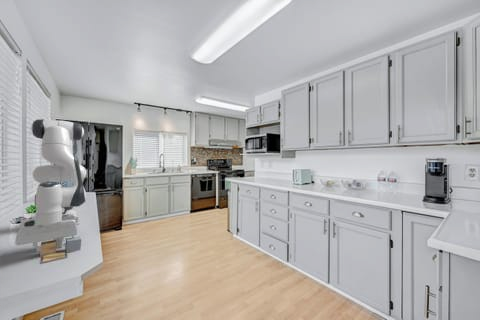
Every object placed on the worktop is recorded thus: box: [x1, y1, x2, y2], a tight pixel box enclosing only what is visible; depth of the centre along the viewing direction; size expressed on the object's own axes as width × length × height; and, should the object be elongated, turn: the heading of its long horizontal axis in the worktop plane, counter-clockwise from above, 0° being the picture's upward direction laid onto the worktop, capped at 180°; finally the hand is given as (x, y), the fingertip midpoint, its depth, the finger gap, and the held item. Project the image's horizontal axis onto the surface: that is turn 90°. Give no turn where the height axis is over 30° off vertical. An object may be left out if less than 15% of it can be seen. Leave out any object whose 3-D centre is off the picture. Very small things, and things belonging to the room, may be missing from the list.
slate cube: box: [64, 236, 82, 254], centre depth 97 cm, size 5×5×5 cm
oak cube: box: [39, 239, 57, 258], centre depth 93 cm, size 5×5×5 cm
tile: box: [39, 250, 68, 265], centre depth 89 cm, size 8×8×1 cm
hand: (48, 249), depth 93 cm, fingers closed on oak cube, 5 cm apart
